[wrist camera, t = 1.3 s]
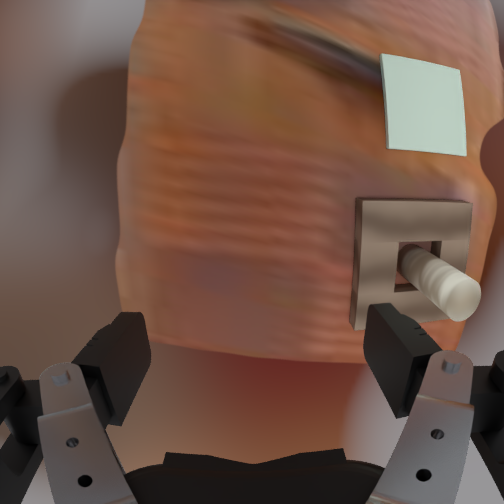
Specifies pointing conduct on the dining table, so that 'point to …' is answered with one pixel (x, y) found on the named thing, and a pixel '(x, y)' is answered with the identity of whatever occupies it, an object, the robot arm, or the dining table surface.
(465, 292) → the maple peg
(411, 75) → the sage pad
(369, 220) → the board
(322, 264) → the dining table surface
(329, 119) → the dining table surface
